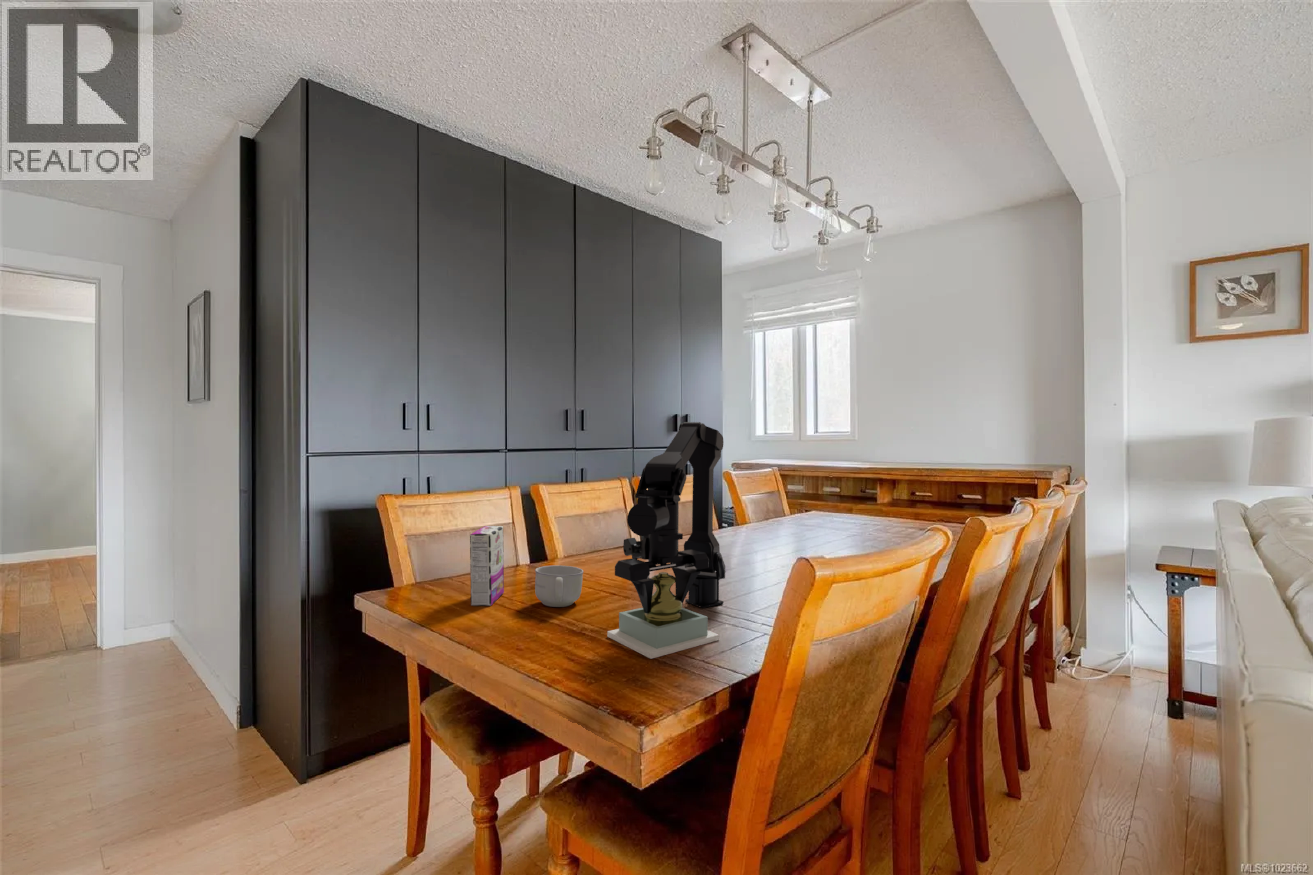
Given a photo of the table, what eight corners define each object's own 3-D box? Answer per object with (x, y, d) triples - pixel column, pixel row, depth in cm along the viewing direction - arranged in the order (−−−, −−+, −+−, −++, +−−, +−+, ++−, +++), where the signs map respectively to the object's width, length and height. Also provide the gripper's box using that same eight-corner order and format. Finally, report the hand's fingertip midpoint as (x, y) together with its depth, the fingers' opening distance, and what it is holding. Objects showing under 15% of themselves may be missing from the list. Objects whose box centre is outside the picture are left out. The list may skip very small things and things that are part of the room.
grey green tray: (672, 621, 124) (672, 599, 124) (718, 640, 113) (719, 616, 113) (607, 636, 115) (607, 613, 115) (650, 658, 104) (650, 632, 104)
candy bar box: (483, 593, 145) (484, 525, 145) (504, 593, 145) (504, 525, 145) (468, 606, 134) (469, 533, 134) (491, 606, 134) (491, 533, 134)
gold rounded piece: (635, 624, 114) (635, 572, 114) (664, 616, 119) (664, 566, 119) (661, 634, 109) (662, 579, 109) (690, 625, 114) (690, 573, 114)
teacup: (540, 597, 142) (541, 563, 142) (586, 597, 142) (586, 563, 142) (526, 614, 128) (526, 577, 128) (576, 615, 128) (576, 578, 128)
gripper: (675, 518, 126) (674, 592, 126) (599, 526, 115) (598, 608, 115) (710, 525, 117) (710, 604, 117) (632, 535, 106) (631, 623, 106)
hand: (663, 609), depth 114 cm, fingers closed on gold rounded piece, 7 cm apart
